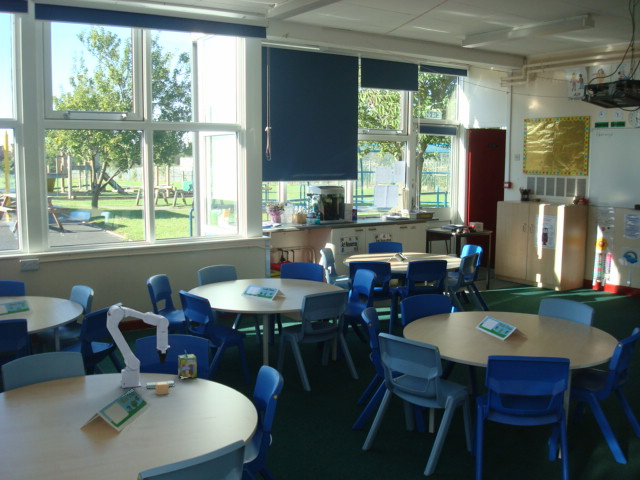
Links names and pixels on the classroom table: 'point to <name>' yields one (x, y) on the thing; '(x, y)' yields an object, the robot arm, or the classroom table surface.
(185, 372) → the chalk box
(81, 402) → the classroom table surface
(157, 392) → the stub
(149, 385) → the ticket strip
